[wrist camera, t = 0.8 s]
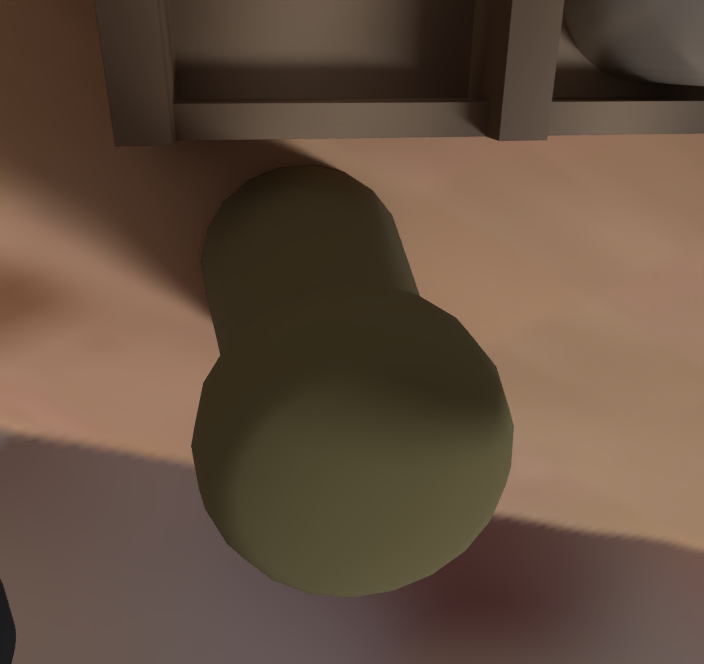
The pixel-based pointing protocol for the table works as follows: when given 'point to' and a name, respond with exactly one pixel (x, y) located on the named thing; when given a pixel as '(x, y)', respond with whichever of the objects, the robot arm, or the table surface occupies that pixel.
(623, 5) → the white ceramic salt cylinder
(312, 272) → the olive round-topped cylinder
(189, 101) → the walnut slot rack
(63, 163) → the table surface
